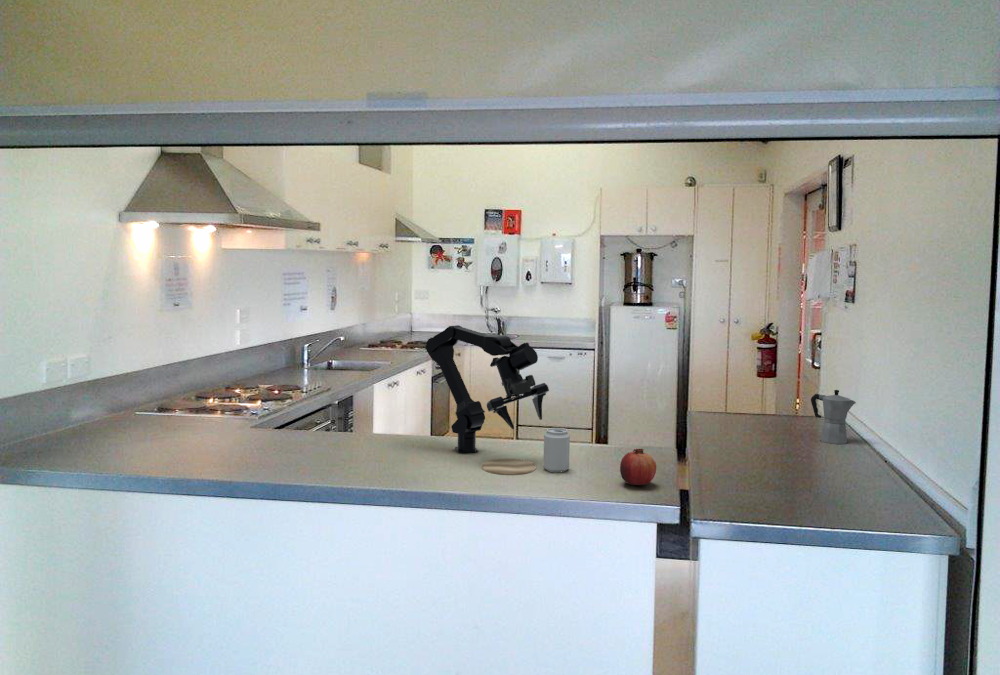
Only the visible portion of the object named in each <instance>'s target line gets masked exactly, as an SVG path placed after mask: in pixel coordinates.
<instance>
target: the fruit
mask: <svg viewBox="0 0 1000 675" xmlns="http://www.w3.org/2000/svg"><path fill="white" fill-rule="evenodd" d="M644 449H645V448H636V449H635V448H634V449H633V450H632V451H631V452H627V453H626V454H624V456H623V457H622V459H621V462H620V464H619V466H620V467H619V472H620V477H621V478H622V480H623V481H624V482H625V483H627V484H628V485H633V486H644V485H645V486H646V485H647V484H648V485H649V483H651V482H652V481H653V480H654V478H655V476H656V473H657V463H656V461H655V460H654V458H653V457H652V455H650V454H648V453H646V452H644Z"/></svg>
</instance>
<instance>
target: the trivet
mask: <svg viewBox="0 0 1000 675" xmlns="http://www.w3.org/2000/svg"><path fill="white" fill-rule="evenodd" d="M481 469H482V470H484V471H485V472H487V473H491V474H494V475H495V474H496V475H500V476H501V475H503V476H504V475H505V476H517V475H519V476H520V475H527V474H531V473H533V472H534V471H535V472H536V469H537V465H536V464H535V463H534V462H532V461H529V460H526V459H520V458H495V459H490V460H489V459H488V460H487V461H484V462H483V463H482V464H481Z"/></svg>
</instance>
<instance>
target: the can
mask: <svg viewBox="0 0 1000 675" xmlns="http://www.w3.org/2000/svg"><path fill="white" fill-rule="evenodd" d="M570 436H571V435H570V434H569V431H568V429H567V428H563V427H551V428H547V429H546V432H545V433H544V434H543V468H544V469H545V471H547V470H548V471H547V472H550V471H551V473H562V472H561V471H565V470H566V471H568V469H569V468H570V450H571V448H570V446H571V445H570V443H571V440H570V439H571V437H570ZM566 471H565V472H566Z"/></svg>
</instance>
